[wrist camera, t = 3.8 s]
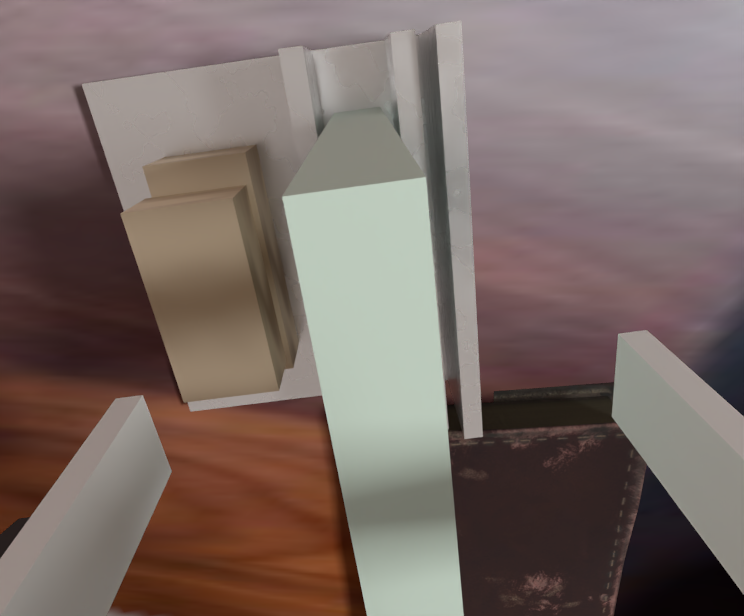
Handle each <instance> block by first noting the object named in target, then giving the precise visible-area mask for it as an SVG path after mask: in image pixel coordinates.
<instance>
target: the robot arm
mask: <svg viewBox="0 0 744 616" xmlns="http://www.w3.org/2000/svg"><path fill="white" fill-rule="evenodd" d="M612 418H613V419H614V420H615V422H616V423H617V424H618V426H619V427H620V428H621V430H622V431H623V432H624V434H625V435H626V436H627V438H628V439H629V440H630V442H631V443H632V445H633V446H634V447H635V449H636V450H637V451H638V453H639V454H640V455H641V457H642V458H643V459H644V461H645V462H646V463H647V465H648V466H649V467H650V469H651V470H652V472H653V473H654V474H655V476H656V477H657V478H658V480H659V481H660V482H661V484H662V485H663V486H664V488H665V489H666V490H667V492H668V493H669V494H670V496H671V497H672V498H673V500H674V501H675V503H676V504H677V505H678V507H679V508H680V509H681V511H682V512H683V513H684V515H685V516H686V517H687V519H688V520H689V521H690V523H691V524H692V525H693V527H694V528H695V530H696V531H697V532H698V534H699V535H700V536H701V538H702V539H703V540H704V542H705V543H706V544H707V546H708V547H709V548H710V550H711V551H712V552H713V554H714V555H715V557H716V558H717V559H718V561H719V562H720V563H721V565H722V566H723V567H724V569H725V570H726V571H727V573H728V574H729V575H730V577H731V578H732V579H733V581H734V582H735V583H736V585H737V586H738V588H739V589H740V590H741V592H742V593H743V594H744V417H743V416H742V415H741V414H740V413H739V412H738V411H737V410H736V409H734V408H733V407H732V406H731V405H730V404H729V403H728V402H727V401H726V400H724V399H723V398H722V397H721V396H720V395H719V394H718V393H717V392H715V391H714V390H713V389H712V388H711V387H710V386H709V385H708V384H706V383H705V382H704V381H703V380H702V379H701V378H700V377H699V376H698V375H696V374H695V373H694V372H693V371H692V370H691V369H690V368H689V367H687V366H686V365H685V364H684V363H683V362H682V361H681V360H680V359H679V358H677V357H676V356H675V355H674V354H673V353H672V352H671V351H670V350H668V349H667V348H666V347H665V346H664V345H663V344H662V343H661V342H659V341H658V340H657V339H656V338H655V337H654V336H653V335H652V334H651V333H649V332H648V331H647V330H644V331H636V332H629V333H621V334H618V344H617V356H616V369H615V381H614V394H613V406H612ZM171 472H172V471H171V468H170V465H169V463H168V460H167V458H166V455H165V452H164V450H163V447H162V444H161V442H160V439H159V436H158V434H157V431H156V429H155V426H154V423H153V421H152V418H151V415H150V413H149V410H148V408H147V405H146V402H145V400H144V397H143V395H140V396H132V397H124V398H116V399H115V400H114V402H113V403H112V404H111V406H110V407H109V409H108V410H107V411H106V413H105V414H104V416H103V417H102V418H101V420H100V421H99V422H98V424H97V425H96V427H95V428H94V429H93V431H92V432H91V434H90V435H89V436H88V438H87V439H86V441H85V442H84V443H83V445H82V446H81V447H80V449H79V450H78V452H77V453H76V454H75V456H74V457H73V459H72V460H71V461H70V463H69V464H68V465H67V467H66V468H65V470H64V471H63V472H62V474H61V475H60V477H59V478H58V479H57V481H56V482H55V484H54V485H53V486H52V488H51V489H50V490H49V492H48V493H47V495H46V496H45V497H44V499H43V500H42V502H41V503H40V504H39V506H38V507H37V508H36V510H35V511H34V513H33V514H32V515H31V517H28V518H20V519H18V520H17V521H16V522H14V523H13V524H12V525H11V526H10V527H9V528H7V529H6V530H5V531H4V532H3V533H2V534H0V616H107V614H108V612H109V609H110V607H111V605H112V603H113V600H114V598H115V596H116V594H117V592H118V589H119V587H120V585H121V583H122V581H123V578H124V576H125V574H126V572H127V569H128V567H129V565H130V563H131V561H132V558H133V556H134V554H135V552H136V550H137V547H138V545H139V543H140V541H141V538H142V536H143V534H144V532H145V530H146V527H147V525H148V523H149V521H150V519H151V516H152V514H153V512H154V510H155V507H156V505H157V503H158V501H159V499H160V496H161V494H162V492H163V490H164V488H165V485H166V483H167V481H168V479H169V476H170V474H171Z"/></svg>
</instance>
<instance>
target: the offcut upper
mask: <svg viewBox="0 0 744 616" xmlns="http://www.w3.org/2000/svg"><path fill="white" fill-rule="evenodd" d="M120 215H121V218H122V221H123V224H124V227H125V229H126V232H127V235H128V238H129V241H130V244H131V247H132V250H133V253H134V256H135V259H136V262H137V265H138V268H139V271H140V274H141V277H142V280H143V283H144V286H145V289H146V292H147V295H148V298H149V301H150V304H151V307H152V310H153V313H154V316H155V319H156V322H157V324H158V327H159V330H160V333H161V336H162V339H163V342H164V345H165V348H166V351H167V354H168V357H169V360H170V363H171V366H172V369H173V372H174V375H175V378H176V381H177V384H178V387H179V390H180V393H181V396H182V399H183V402H184V403H185V402H193V401H201V400H209V399H217V398H225V397H233V396H241V395H249V394H257V393H265V392H274V391H279V389H280V385H281V381H282V377H283V373H284V369H285V365H286V357H285V352H284V348H283V344H282V339H281V335H280V331H279V326H278V322H277V317H276V313H275V309H274V304H273V300H272V296H271V291H270V287H269V283H268V278H267V274H266V269H265V265H264V261H263V256H262V252H261V248H260V243H259V239H258V235H257V230H256V226H255V222H254V217H253V213H252V208H251V204H250V200H249V195H248V191H247V187H246V185H241V186H233V187H226V188H219V189H212V190H204V191H197V192H190V193H183V194H175V195H168V196H161V197H153V198H146V199H144V200H142V201H141V202H139V203H137V204H136V205H134V206H132V207H131V208H129V209H127V210H125V211H124V212H122V213H120Z"/></svg>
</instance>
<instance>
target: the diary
mask: <svg viewBox="0 0 744 616" xmlns="http://www.w3.org/2000/svg"><path fill="white" fill-rule="evenodd" d="M613 394H614V382H612V383H599V384H586V385H573V386H560V387H547V388H534V389H521V390H507V391H494V402H492V403H481V410H482V429H483V437H478V438H469V439H464V435H463V432H462V429H461V425H460V422H459V418H458V415H457V411H456V408H455V405H449V406H447V414H448V426H449V429H448V439H449V451H450V463H451V474H452V486H453V497H454V509H455V521H456V532H457V544H458V555H459V567H460V579H461V590H462V602H463V613H464V616H614V611H615V606H616V601H617V595H618V590H619V585H620V580H621V574H622V569H623V564H624V560H625V556H626V552H627V548H628V544H629V540H630V537H631V533H632V529H633V525H634V522H635V518H636V514H637V510H638V507H639V502H640V496H641V491H642V486H643V480H644V475H645V470H646V465H647V463H646V462H645V461H644V459H643V458H642V457H641V455H640V454H639V453H638V451H637V450H636V449H635V447H634V446H633V445H632V443H631V442H630V440H629V439H628V438H627V436H626V435H625V434H624V432H623V431H622V430H621V428H620V427H619V426H618V424H617V423H616V422H615V420H614V419H613V418H612V406H613Z"/></svg>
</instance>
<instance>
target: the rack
mask: <svg viewBox="0 0 744 616" xmlns="http://www.w3.org/2000/svg"><path fill="white" fill-rule="evenodd" d="M278 52H279V55H278V56H271V57H264V58H258V59H251V60H244V61H237V62H230V63H223V64H216V65H209V66H203V67H196V68H189V69H182V70H175V71H168V72H161V73H154V74H147V75H141V76H134V77H127V78H120V79H113V80H106V81H99V82H92V83H85V84H82V87H83V90H84V93H85V96H86V99H87V102H88V105H89V108H90V111H91V114H92V117H93V120H94V123H95V126H96V129H97V132H98V135H99V138H100V141H101V144H102V147H103V150H104V153H105V156H106V159H107V162H108V165H109V168H110V171H111V174H112V177H113V180H114V183H115V186H116V189H117V192H118V195H119V198H120V201H121V204H122V207H123V210H124V211H125V210H127V209H129V208H131V207H132V206H134V205H136V204H137V203H139V202H141V201H142V200H144V199H146V198H152V197H151V194H150V190H149V187H148V184H147V181H146V177H145V174H144V171H143V168H142V167H143V166H145V165H147V164H150V163H152V162H154V161H157V160H159V159H161V158H164V157H170V156H178V155H185V154H192V153H199V152H206V151H213V150H220V149H228V148H235V147H242V146H249V145H257V150H258V154H259V159H260V164H261V168H262V173H263V178H264V182H265V187H266V192H267V196H268V201H269V206H270V210H271V215H272V220H273V224H274V229H275V234H276V238H277V243H278V248H279V252H280V257H281V262H282V266H283V271H284V276H285V280H286V285H287V290H288V294H289V299H290V304H291V308H292V313H293V318H294V322H295V327H296V332H297V336H298V341H299V345H298V350H297V354H296V359H295V363H294V368H291V369H284V373H283V377H282V381H281V385H280V389H279V391H274V392H265V393H257V394H249V395H241V396H233V397H225V398H217V399H209V400H201V401H193V402H188V405H189V408H190V411H199V410H207V409H215V408H223V407H231V406H239V405H247V404H255V403H263V402H271V401H280V400H288V399H296V398H304V397H312V396H320V395H322V391H321V386H320V382H319V377H318V372H317V367H316V362H315V357H314V352H313V347H312V342H311V337H310V332H309V327H308V322H307V317H306V312H305V308H304V303H303V298H302V293H301V288H300V283H299V278H298V273H297V268H296V263H295V258H294V253H293V248H292V243H291V238H290V234H289V229H288V224H287V219H286V214H285V209H284V204H283V199H282V196H283V194H284V193H285V191H286V189H287V188H288V186H289V185H290V183H291V181H292V180H293V178H294V177H295V175H296V173H297V172H298V170H299V169H300V167H301V165H302V164H303V162H304V160H305V159H306V157H307V156H308V154H309V152H310V151H311V149H312V148H313V146H314V144H315V143H316V141H317V140H318V138H319V136H320V135H321V133H322V131H323V130H324V128H325V127H326V125H327V123H328V122H329V120H330V119H331V117H332V115H333V114H334V113H338V112H345V111H352V110H359V109H366V108H373V107H381V109H382V111H383V112H384V114H385V115H386V117H387V118H388V120H389V121H390V123H391V124H392V126H393V127H394V129H395V130H396V132H397V133H398V135H399V137H400V138H401V140H402V141H403V143H404V144H405V146H406V147H407V149H408V150H409V152H410V153H411V155H412V156H413V158H414V160H415V161H416V163H417V164H418V166H419V167H420V169H421V170H422V172H423V173H424V175H425V176H426V184H427V195H428V207H429V219H430V230H431V242H432V253H433V265H434V277H435V288H436V300H437V312H438V323H439V335H440V346H441V358H442V370H443V381H444V393H445V404H446V416H447V428H448V429H449V426H448V414H447V402H446V390H445V380H448V384H449V387H450V391H451V394H452V398H453V401H454V405H455V408H456V411H457V415H458V418H459V422H460V425H461V429H462V432H463V435H464V439H469V438H478V437H483V429H482V410H481V391H480V371H479V352H478V333H477V313H476V294H475V275H474V256H473V236H472V217H471V198H470V178H469V159H468V140H467V120H466V101H465V82H464V63H463V43H462V24H461V21H456V22H449V23H442V24H436V25H434V26H432V27H431V28H429V29H428V30H426V31H425V32H423V33H421V34H420V35H416V36H415V29H413V30H406V31H399V32H392V33H390V34H389V35H388V36H387V38H386V39H385V40H382V41H375V42H368V43H361V44H354V45H347V46H340V47H333V48H326V49H320V50H313V51H312V50H310V49H308V48H306V47H304V46H296V47H289V48H282V49H278Z"/></svg>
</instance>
